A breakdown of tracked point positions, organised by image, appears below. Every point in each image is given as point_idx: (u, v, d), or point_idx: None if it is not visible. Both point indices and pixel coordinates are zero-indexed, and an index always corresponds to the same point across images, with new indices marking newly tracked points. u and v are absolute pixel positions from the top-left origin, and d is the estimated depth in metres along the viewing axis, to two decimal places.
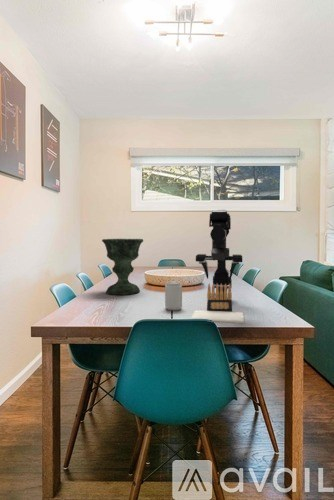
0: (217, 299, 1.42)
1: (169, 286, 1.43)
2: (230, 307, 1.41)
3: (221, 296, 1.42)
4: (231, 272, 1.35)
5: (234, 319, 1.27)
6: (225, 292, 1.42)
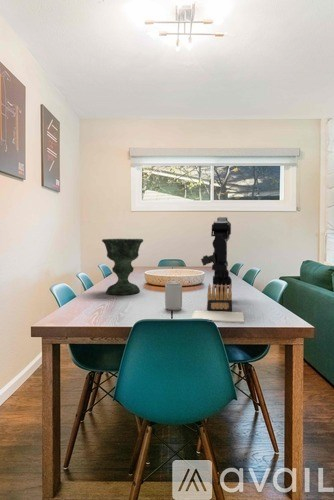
0: (217, 299, 1.41)
1: (169, 286, 1.43)
2: (230, 307, 1.41)
3: (221, 297, 1.41)
4: (217, 277, 1.49)
5: (234, 319, 1.27)
6: (225, 292, 1.41)
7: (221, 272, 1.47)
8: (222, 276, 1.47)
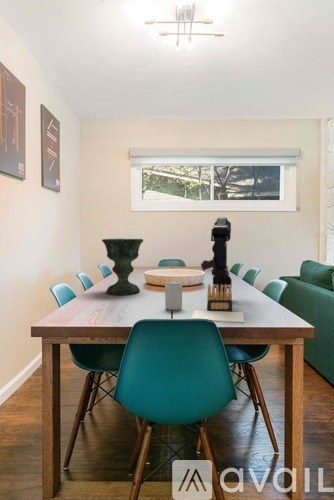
0: (217, 299, 1.41)
1: (169, 286, 1.43)
2: (230, 307, 1.41)
3: (221, 297, 1.41)
4: (217, 282, 1.47)
5: (234, 319, 1.27)
6: (225, 292, 1.41)
7: (221, 277, 1.46)
8: (222, 281, 1.46)
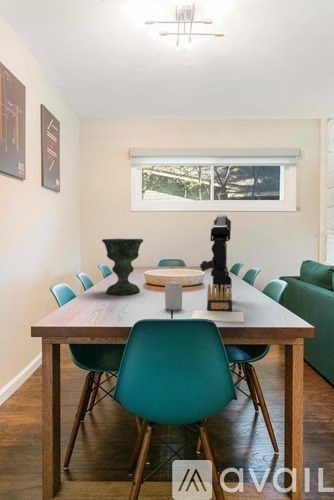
0: (217, 299, 1.41)
1: (169, 286, 1.43)
2: (230, 307, 1.41)
3: (221, 297, 1.41)
4: (217, 283, 1.44)
5: (234, 319, 1.27)
6: (225, 292, 1.41)
7: (220, 278, 1.43)
8: (221, 282, 1.43)
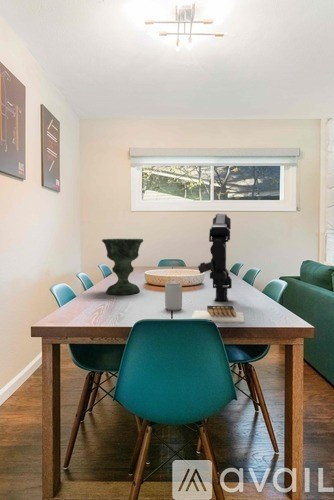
0: None
1: (169, 286, 1.43)
2: None
3: None
4: (216, 286, 1.37)
5: (234, 319, 1.27)
6: (228, 314, 1.33)
7: (220, 281, 1.35)
8: (221, 285, 1.35)
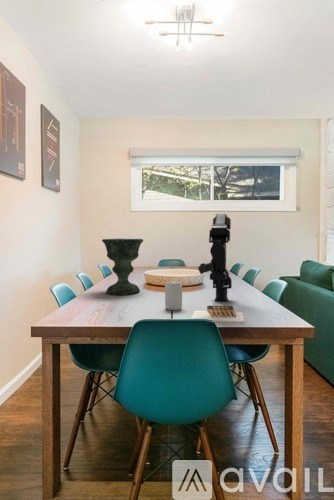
0: None
1: (169, 286, 1.43)
2: None
3: None
4: (216, 287, 1.37)
5: (234, 319, 1.27)
6: (228, 314, 1.33)
7: (220, 281, 1.35)
8: (221, 286, 1.36)
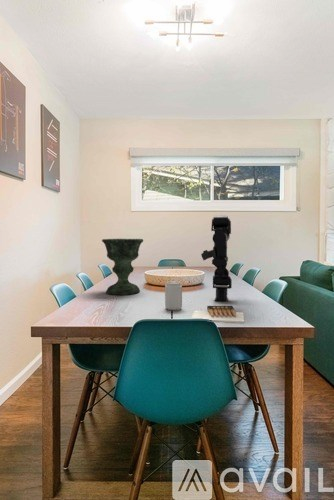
0: None
1: (169, 286, 1.43)
2: None
3: None
4: (217, 272, 1.48)
5: (234, 319, 1.27)
6: (228, 314, 1.33)
7: (221, 267, 1.47)
8: (222, 271, 1.47)
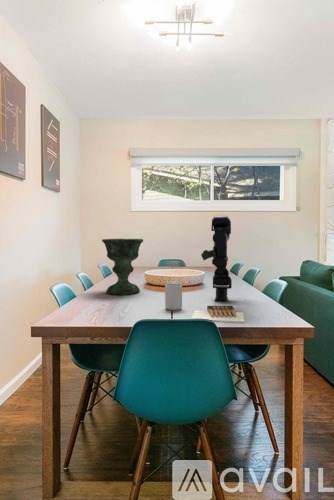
0: None
1: (169, 286, 1.43)
2: None
3: None
4: (217, 272, 1.48)
5: (234, 319, 1.27)
6: (228, 314, 1.33)
7: (221, 267, 1.47)
8: (222, 271, 1.47)
